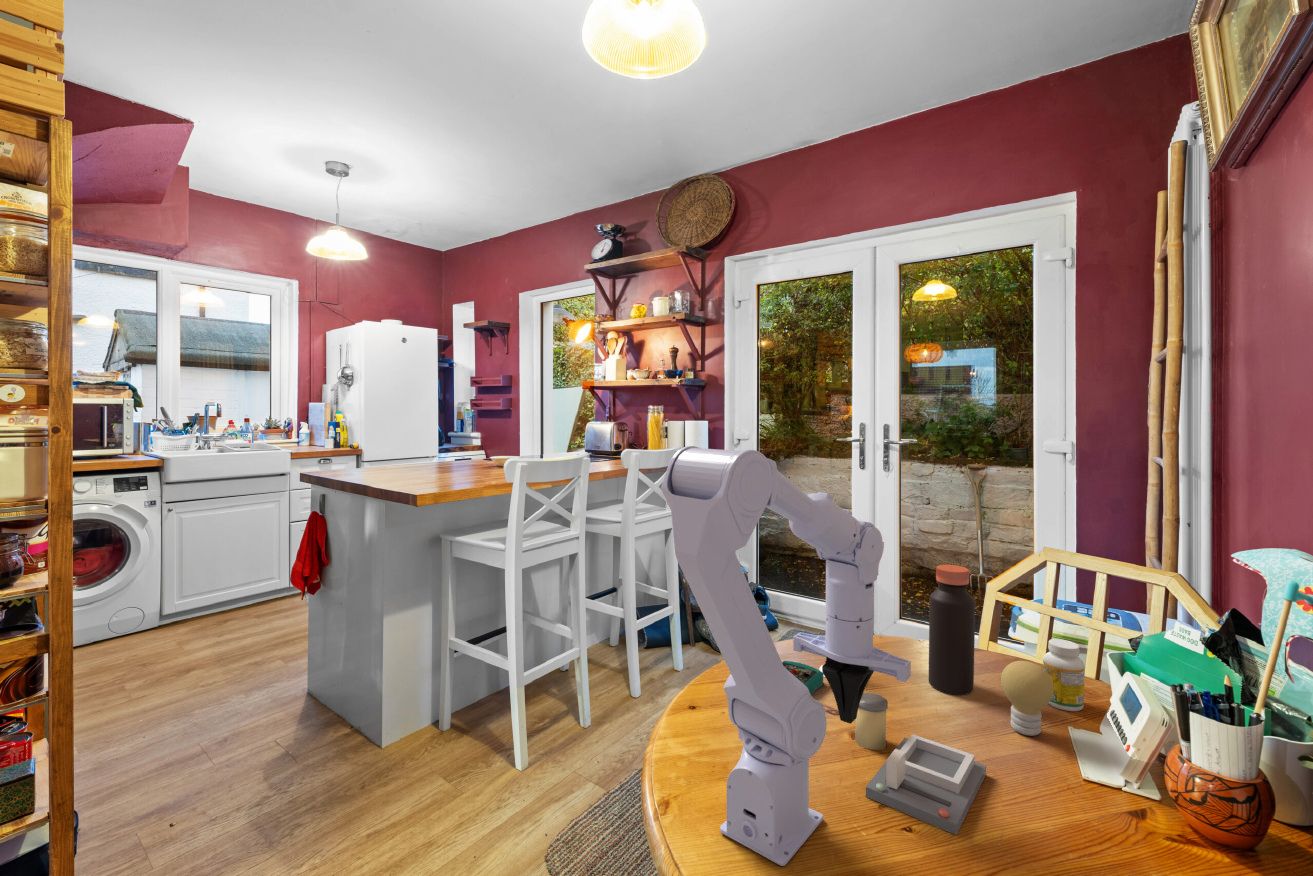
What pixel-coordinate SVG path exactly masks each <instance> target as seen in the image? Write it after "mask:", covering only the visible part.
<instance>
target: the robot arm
mask: <svg viewBox="0 0 1313 876" xmlns="http://www.w3.org/2000/svg"><path fill="white" fill-rule="evenodd" d="M660 490H661V492H662V495H663V496H664V498H665V500H666V501H665V502H666V503H667V505H668V507H669V510H670V512H671V523H672V524H671V525H672V533H673V544H674V555H675V558H676V561H677V563H678V565H679V568H680V570H681V571H682V573H683V577H684V578H685V579H686V582H687V585H688V587H689V588H690V590H691V592H692V595H693V597H694V599H695V601H696V603H697V605H698V607H699V609H700V611H701V614H702V615H703V619H704V620H705V622H706V624H707V627H708V628H709V630H710V632H711V635H712V636H713V639H714V642H715V643H716V645H717V647H718V649H719V651H720V654H721V656H722V657H723V660H724V662H725V664H726V667H727V668H728V670H729V673H730V674H729V676H728V677H727V679H726V681H725V683H724V685H723V690H724V693H725V694H726V697H727V708H728V709H727V711H728V712H727V713H728V716H729V717H728V718H729V720H730V722H731V723H732V725H734V726H735V727H737V728H738V733H737V734H738V739H740V740H741V741H742V751H741V755H740V758H739V760H738V762H737V763H736V765H735V766H734V768H733V769H732V770H731V771H730V773H728V776H727V781H726V820H725V821H724V822H723V823H722V824H721V825H720V826H719V831H720V833H721V834H722V835H724V836H726V837H728V838H730V839H732V840H734V841H735V842H737V843H739V844H741V845H742V846H744V847H746V848H749V850H752V851H754V852H755V853H757V854H759V855H761V856H763V857H764V858H766V859H768V860H770V861H771V862H773V863H775V864H777V865H779V866H782V867H783V866H786V865H787V864H788V863H789V862H790V860H791V859H792V858H793V857H794V855H795V854H796V853H797V852H798V850H799V849H800V848H801V847H802V846H803V845H804V843H805V842H806V841H807V840H808V839H809V837H810V836H811V835H813V832H814V831H815V830H816V828H817V827H819V825H820V824H821V823H822V822H823V820H824V815H823V814H822V813H821V812H818V811H817V810H814V809H812V808H810V807H809V801H810V792H809V791H810V787H809V786H810V759H811V758H812V757H813V756H814V755H815V754H817V753H818V751H819V750H820V748H821V747H822V745H823V742H824V739H825V737H826V734H827V725H828V724H827V723H828V722H827V714H826V710H825V707H824V706H823V704H822V703H821V702H820V701H819V700H818V699H817V700H816V699H815V698H814V697H813V696H812V694H810V692H809V690H808V688H807V687H806V686H805V685H804V684H803V683H802V682H801V681H800V680H798V679H797V678H796V677H795V676H794V675H793V674H791V673H790V672H789V671H788V670H787V669H786V668H785V667H784V666H783V664H782V662H783V661H782V659H781V657H780V655H779V652H778V650H777V648H776V645H775V643H774V641H773V639H772V635H771V633H770V631H769V629H768V627H767V625H766V622H765V620H764V617H763V615H762V613H761V610H760V608H759V605H758V603H757V601H756V599H755V597H754V594H753V592H752V590H751V587H750V585H749V582H748V580H747V578H746V574H745V573H744V571H743V569H742V567H741V564H740V561H739V559H738V557H737V555H736V551H738V550H740V549H742V548H744V547H746V546H747V544H748V542H749V540H750V538H751V536H752V535H753V533H754V530H755V529H756V527H757V525H758V523H759V521H760V518H761V517H762V516H763V513H764V512H765V510H766V508H767V509H768V510H771V511H772V512H774V513H776V514H778V515H779V516H781V517H784V518H785V519H787V520H788V525H789V528H790V530H791V533H792V534H793V535H794V536H795V537H797V538H798V539H800V540H801V541H803V542H805V543H807V544H809V545H810V546H812V547H813V548H815V551H816V554H817V557H819V559H820V560H825V635H817V634H812V633H805V632H801V631H800V632H798V633H797V634H795V635H793V639H792V642H793V645H792V646H793V651H794V652H798V653H802V652H806V653H809V654H812V655H813V654H814V655H815V656H816V655H817V656H820V657H824V658H825V663H824V664H822V665H823V666H822V665H821V666H822V672H823V674H824V675H825V677H826V678H825V677H824V678H825V679H826V681H827V682H828V684H829V686H830V689H831V691H832V694H833V697H834V700H835V703H836V706H837V711H838V715H839V720H840V722H841V721H842V722H845V723H847V724H850V725H851V724H853V722H854V721H856V718H857V712H858V708H859V704H860V700H861V697H862V695H863V692H865V689H866V687H867V686H868V685H867V684H868V683H869V682H870V679H871V677H872V676H873V674H874V672H876V673H880V674H884V675H887V676H891V677H894V678H896V680H897V681H898V682H899V681H900V682H902V683H903V682H904V683H906V682H907V681H909V679H910V678H911V671H912V670H911V669H912V667H911V666H912V665H911V663H912V661H911V660H909V659H904V658H901V657H899V656H896V655H894V654H892V653H889V652H887V651H884V650H882V649H879V648H877V647H875V646H874V585H875V584H874V583H875V582H876V581H877V580H878V576H879V567H880V563H881V560H882V557H883V553H884V548H885V542H884V541H883V536H882V533H881V531H880V529H878V528H877V527H876V526H875V525H874V524H873V523H872V522H868V521H863V520H858V519H857V518H855V517H854V516H853V512H852V511H851V510H849V509H848V508H847V509H845V508H842V507H841V506H839V505H837V503H835V502H833V501H834V496H833V495H832V494H830V493H829V492H821V491H818V492H817V493H816V492H815V493H812V492H811V493H805V492H803V490H802V489H800V488H799V487H798V486H797V485H796V484H795V483H793V482H792V481H791V480H789V478H787V476H785V475H784V474H782V473H781V472H780V471H779V470H778V466H777V462H776V461H775V460H773V459H771V458H768V457H766V456H765V455H764V454H763V453H762V452H761V451H758V450H756V449H746V450H732V449H730V450H729V449H718V448H717V449H715V448H714V449H713V448H702V447H698V446H694V445H689V446H688V445H687V446H684V447H681V448H680V449H678V450H677V451H676V452H675V453H674V454H673V456H671V458H670V461H669V463H668V466H667V469H666V471H665V475H664V477H663V480H662V483H661V487H660Z"/></svg>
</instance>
